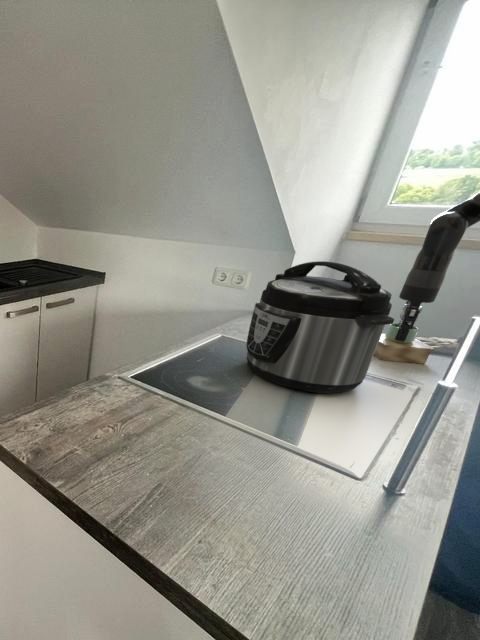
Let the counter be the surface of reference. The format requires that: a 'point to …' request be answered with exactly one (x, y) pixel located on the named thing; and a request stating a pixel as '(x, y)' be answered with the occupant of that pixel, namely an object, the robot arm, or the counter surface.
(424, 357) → the riser
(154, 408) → the counter surface
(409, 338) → the bowl
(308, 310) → the pressure cooker
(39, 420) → the counter surface
